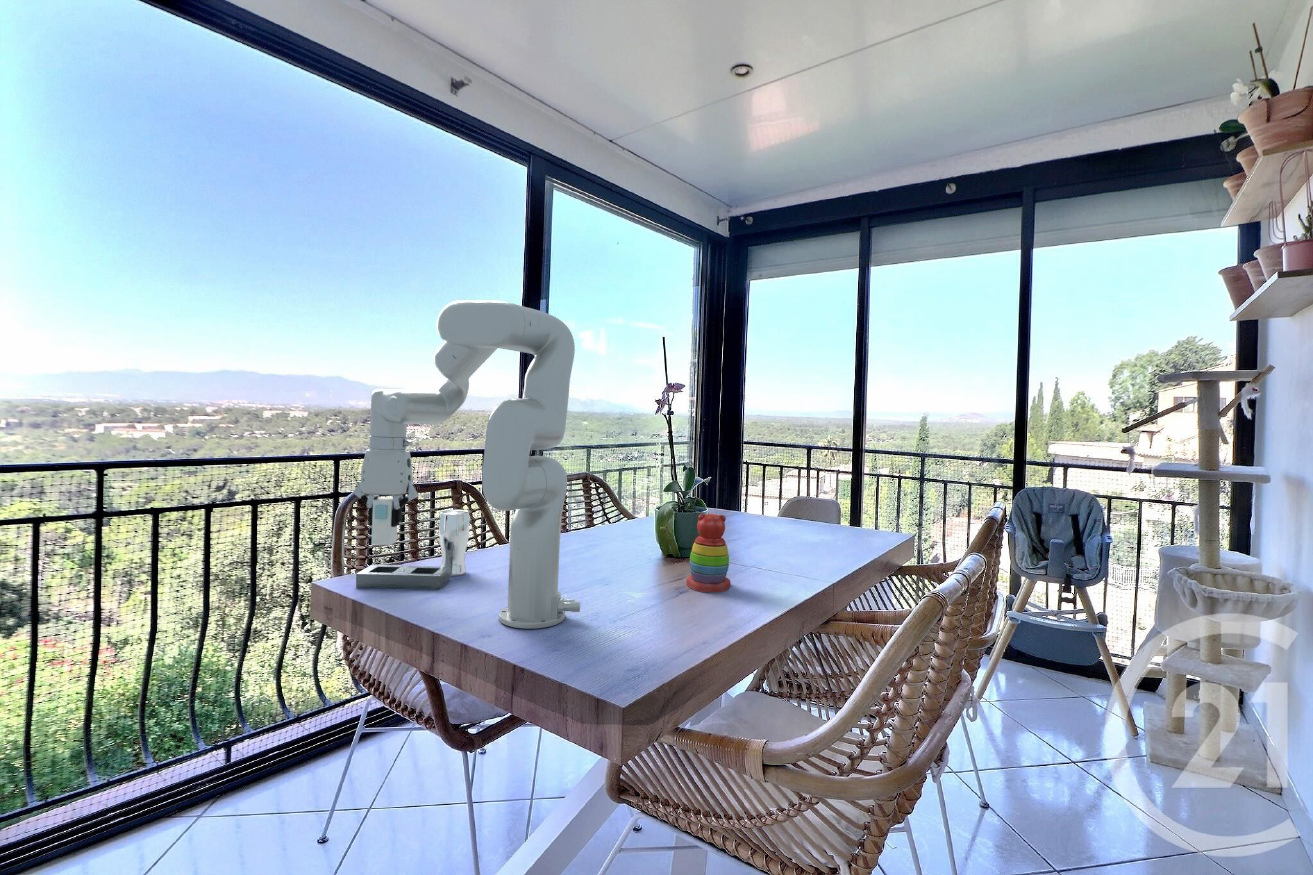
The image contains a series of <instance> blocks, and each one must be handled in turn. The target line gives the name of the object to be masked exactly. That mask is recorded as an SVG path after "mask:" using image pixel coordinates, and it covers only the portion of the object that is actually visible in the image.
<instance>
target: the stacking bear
mask: <svg viewBox="0 0 1313 875" xmlns="http://www.w3.org/2000/svg"><path fill="white" fill-rule="evenodd" d="M697 519H698V521H697V524H696V525H697V526H696V528H697V533H698V534H699V535H698V536H697V537H696V538H695V540H694V541H693V542H694V543H693V545H692V548H691V552H690V556H689V568H690V575H688V576H687V578H686V582H685V584H686V586H687V587H688V586H689V587H688V588H690V589H691V588H692V589H691V590H694V591H696V590H697V592H701V593H706V592H718V593H723V592H725V590H726V591H727V590H729V589H730V588H731V584H732V583H731V579H730V578H728V577H727V575H728V574H727V573H728V571H729V567H730V556H729V548H728V544H726V543H727V542H726V540H725V539H724V538H723V536H724V534H725V530H726V523H725V522H726V520H727V519H726V516H725V515H724V514H720V515H718V514H715V513H706V514H705V513H700V514H699V515H698V518H697ZM722 591H723V592H722Z"/></svg>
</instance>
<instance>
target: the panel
mask: <svg viewBox="0 0 1313 875" xmlns="http://www.w3.org/2000/svg"><path fill="white" fill-rule="evenodd" d="M450 580H451V576H450V567H441V566H431V565H430V566H426V565H425V566H424V565H422V566H421V565H395V564H391V565H390V564H371V565H369V566H367V567H366V568H364V569H362V570H360V571H358V572H357V573H356V574H355V588H365V589H366V588H367V589H369V588H370V589H371V588H373V589H398V590H399V589H403V590H404V589H405V590H407V589H409V590H436V591H437V590H441V589H442V588H443V587H444V586H445V585H446V584H447V583H448V582H449V581H450Z"/></svg>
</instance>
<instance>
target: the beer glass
mask: <svg viewBox="0 0 1313 875" xmlns="http://www.w3.org/2000/svg"><path fill="white" fill-rule="evenodd" d="M438 525H439V527H438V531H439V532H438V534H439V535H438V536H439V543H440V549H441V551H440V552H441V565H440V567H450V577H458V576H462V575H464V574H466V573H467V567H466V552H467V546H468V543H469V542H468V541H469V537H470V512H469V511H468V510H464V509H447V510H441V511H440V516H439V524H438Z"/></svg>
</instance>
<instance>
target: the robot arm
mask: <svg viewBox="0 0 1313 875" xmlns="http://www.w3.org/2000/svg"><path fill="white" fill-rule="evenodd" d="M436 330H437V331H436V332H437V333H438V335H439V337H440V339H442V340H443V343H442V344H440V346H439V347H438V348H437V349H436V350H435V352H434V354H433V362H434V364H435V367H436V368H437V370H438V371H439V372H440V373H441V375H443V377H444V378H446V379H445V380H444V381H443V383H441V385H440V386H439V387H437V388H436V390H423V389H406V388H405V389H403V388H401V389H385V388H384V389H383V388H379V389H374V390H373V391H372V393H371V397H370V415H369V416H370V418H369V419H370V421H369V441H368V442H369V445H368V446H369V448H368V449H365V450H366V451H365V454H364V458H363V461H362V467H361V475H360V482H359V483H358V485H357V486H356V487H355V489H354V490H353V495H355V496H356V497H357V498H358V499H360V500H361V501H362V502H363V503H364V504H365V505H366V508H367V509H368V516H367V517H368V518H367V519H368V522H369V526H370V527H372V516H373V500H375V499H378V498H380V496H391V497H392V498H393V503H394V509H392V518H391V526H392V527H395V526H397V527H398V526H399V525H400V523H401V522H402V509H403V507H404V506H405V505H407V503H409V502H410V501H411V500H414V499H415V498H417V497H419V492H417V490H416V488H415V487H414V484H413V465H412V458H411V452H410V451H409V450H407V448H408V447H412V446H413V440H408V437H407V432H408V431H407V429H408V428H407V427H408V426H407V425H437V424H442V423H444V422H446V421H447V420H449V419H450V418H451V417H452V416H454V414H455V413H456V412H457V411H458V410H460V408H461V407H462V406H463V405H464V403H465V402H466V399H467V397H468V393H469V389H470V378H471V376H473V375H474V373H475V372H477V370H478V369H480V367H481V366H482V365H483V364H484V363H485V362H486V361H487V360H488V359H489V358H490V357H491V356H492V355H493V354H494V353H495V352H496V350H497V349H503V350H507V351H514V352H518V353H526V354H530V355H531V354H532V355H533V356H534V358H533V359H532V361H531V362H530V363H529V366H528V368H527V370H526V373H525V375H524V382H523V383H524V387H523V394H522V398H519V397H517V398H515V397H514V398H506V399H504V400H502V401H500V402H499V403H497V405H495V407H494V408H493V409H492V412H491V413H490V415H489V418H488V421H487V425H486V430H485V431H486V433H485V440H484V442H485V444H484V451H483V453H484V454H483V464H482V476H481V479H482V480H481V482H482V484H481V485H482V492H483V495H484V497H485V500H486V501H487V503H488V504H489V505H490V506H491V508H494V509H496V510H497V511H504V512H505V511H506V512H509V511H514V513H513V516H512V520H511V525H510V534H509V535H510V536H509V558H508V561H509V562H508V582H507V583H508V588H507V606H506V607H504V608H502V609H501V610H500V611H499V613H498V620H499V621H500V622H501V624H503V625H505V626H508V627H511V628H515V629H522V630H523V629H526V630H528V629H529V630H531V629H542V628H543V629H545V628H549V627H553V626H556V625H559V624H560V623H562V622H563V621H564V620H565V618H566V612H570V613H580V612H581V601H576V599H575V598H569V599H568V598H567V599H566V598H564V597H561V596H562V595H561V594H562V592H561V591H559V573H560V549H561V548H560V547H561V546H560V545H561V527H562V517H563V509H564V503H565V500H566V495H567V491H568V490H567V489H568V476H567V472H566V470H565V468H564V466H563V465H562V464H561V462H559V461H558V460H557V459H555V458H553V457H550V456H547V455H532V456H531V455H530V453H531V451H541V450H542V451H543V450H549V449H553V448H556V447H557V446H559V445H560V443H561V442H562V441H563V439H564V436H565V432H566V426H567V416H568V405H569V398H570V397H569V395H570V384H571V376H572V371H573V365H574V361H575V359H574V358H575V352H576V350H575V349H576V348H575V338H574V336H573V334H572V332H571V329H570V328H569V327H568V326H567V324H565V323H564V321H562V320H560V319H559V318H558V317H556V316H554V315H552V314H550V313H547V312H545V311H543V310H542V311H541V310H538V309H534V308H531V307H526V306H523V305H519V304H515V303H511V302H507V301H503V300H455V301H452V302H450V303H448V304H447V305H445V306H444V307H443V308H442V309H441V311H440V312H439V314H438V317H437V320H436ZM405 494H407V495H406V496H404V495H405Z"/></svg>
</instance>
